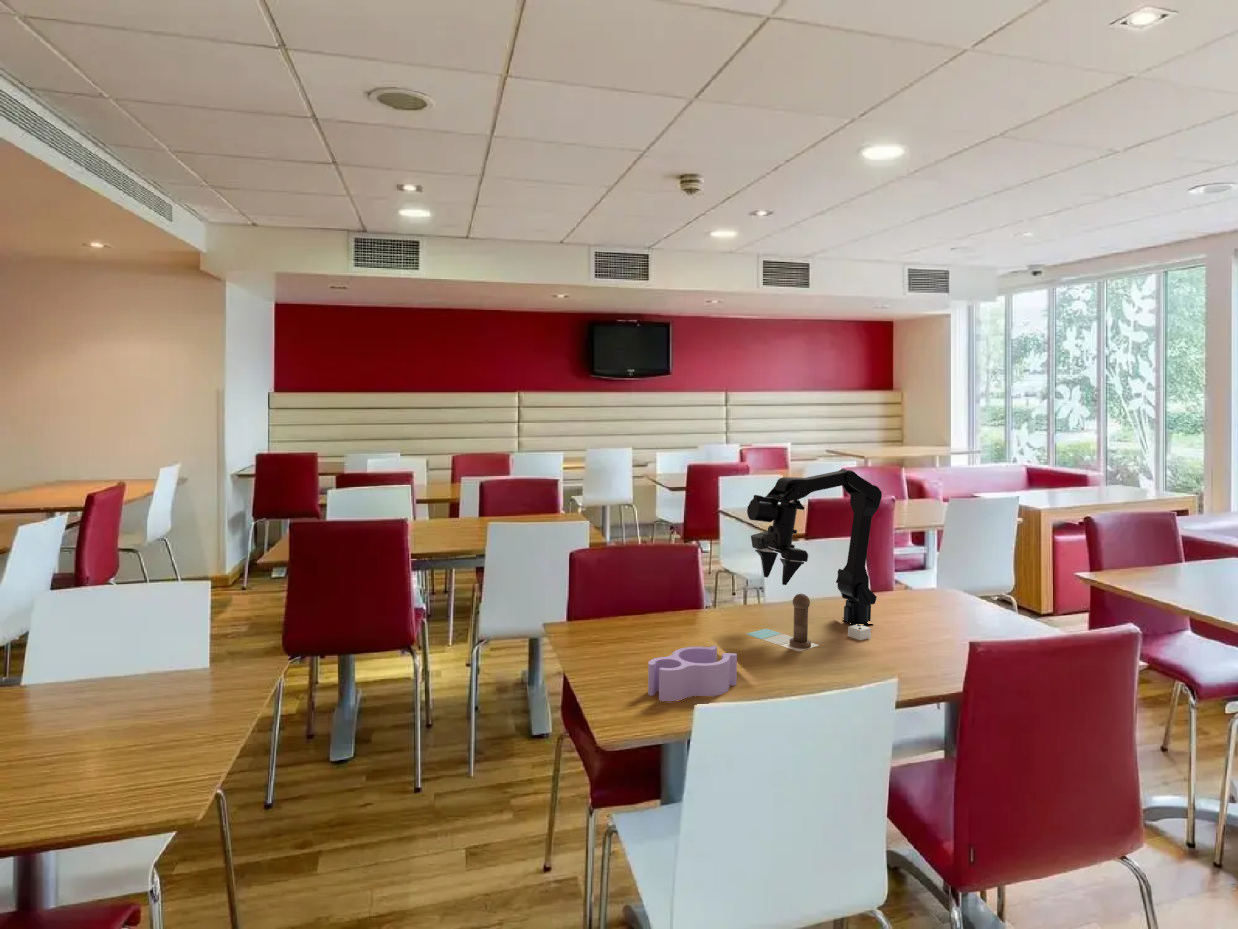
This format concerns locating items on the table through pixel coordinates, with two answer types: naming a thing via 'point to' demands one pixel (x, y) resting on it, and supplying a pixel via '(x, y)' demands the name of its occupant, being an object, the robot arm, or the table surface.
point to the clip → (691, 673)
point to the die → (859, 632)
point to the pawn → (800, 622)
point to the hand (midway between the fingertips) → (774, 581)
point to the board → (776, 638)
